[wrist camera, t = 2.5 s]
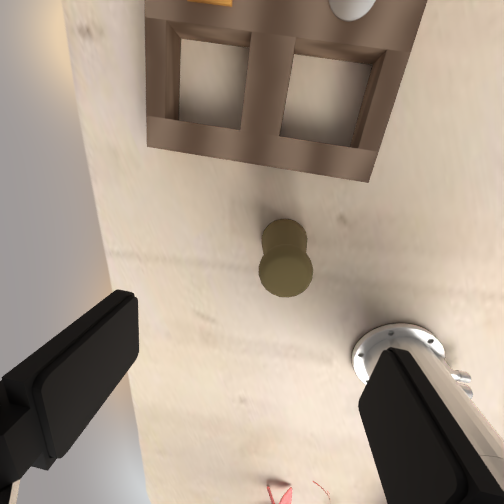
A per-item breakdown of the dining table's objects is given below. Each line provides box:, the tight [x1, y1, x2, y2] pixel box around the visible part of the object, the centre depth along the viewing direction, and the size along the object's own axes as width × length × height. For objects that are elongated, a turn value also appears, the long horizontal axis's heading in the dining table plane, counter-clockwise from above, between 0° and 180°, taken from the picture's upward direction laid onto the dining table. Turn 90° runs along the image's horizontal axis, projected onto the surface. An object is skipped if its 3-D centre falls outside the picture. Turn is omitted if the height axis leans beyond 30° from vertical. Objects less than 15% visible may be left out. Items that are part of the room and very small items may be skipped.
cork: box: [259, 219, 313, 297], centre depth 26 cm, size 6×6×11 cm
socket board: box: [145, 0, 427, 183], centre depth 23 cm, size 24×18×4 cm
